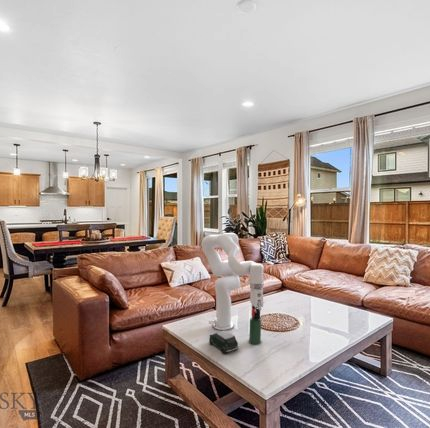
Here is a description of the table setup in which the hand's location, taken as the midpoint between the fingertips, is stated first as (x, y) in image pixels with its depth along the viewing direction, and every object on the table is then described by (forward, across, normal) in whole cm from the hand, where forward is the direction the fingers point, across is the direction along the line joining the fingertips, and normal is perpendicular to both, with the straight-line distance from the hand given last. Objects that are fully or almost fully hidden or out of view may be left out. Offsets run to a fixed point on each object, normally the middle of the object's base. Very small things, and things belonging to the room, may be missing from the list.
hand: (255, 317), depth 168 cm
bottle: (+14, 0, 0) cm, 14 cm away
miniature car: (+15, -1, +19) cm, 24 cm away
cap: (-1, 0, 0) cm, 1 cm away
